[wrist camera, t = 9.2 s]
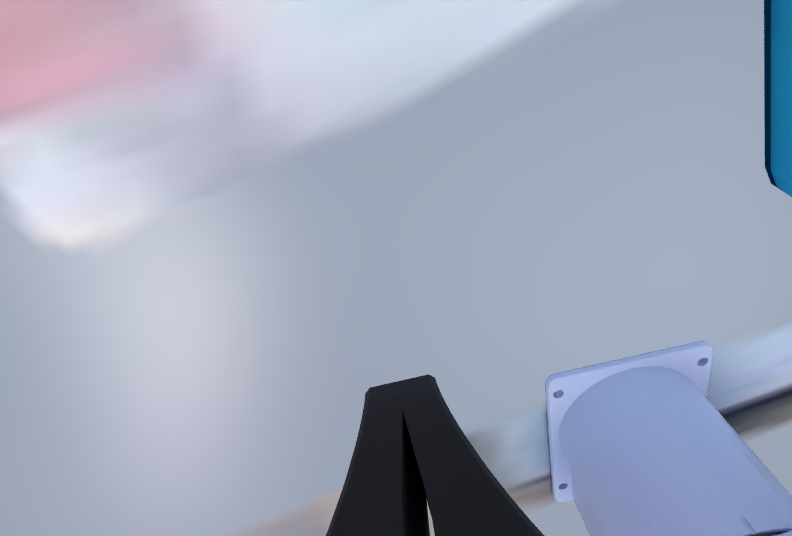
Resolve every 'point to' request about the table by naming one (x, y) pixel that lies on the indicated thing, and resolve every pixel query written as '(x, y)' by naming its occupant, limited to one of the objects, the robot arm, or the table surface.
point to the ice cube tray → (778, 92)
